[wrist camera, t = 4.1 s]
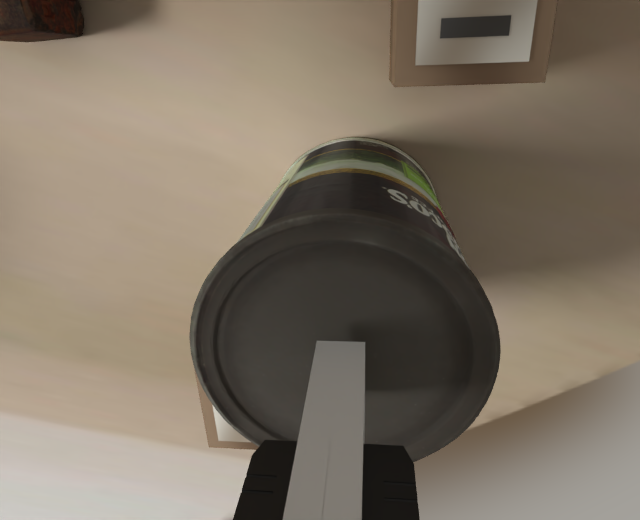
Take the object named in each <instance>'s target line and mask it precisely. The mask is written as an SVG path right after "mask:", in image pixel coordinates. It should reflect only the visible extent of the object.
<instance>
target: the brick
mask: <svg viewBox="0 0 640 520" xmlns="http://www.w3.org/2000/svg"><path fill="white" fill-rule="evenodd" d="M83 28H84V18H83V15H82V13H81V6H80V3H79V0H0V41H15V42H34V41H46V40H55V39H65V38H73V37H79V36H81V35H83Z"/></svg>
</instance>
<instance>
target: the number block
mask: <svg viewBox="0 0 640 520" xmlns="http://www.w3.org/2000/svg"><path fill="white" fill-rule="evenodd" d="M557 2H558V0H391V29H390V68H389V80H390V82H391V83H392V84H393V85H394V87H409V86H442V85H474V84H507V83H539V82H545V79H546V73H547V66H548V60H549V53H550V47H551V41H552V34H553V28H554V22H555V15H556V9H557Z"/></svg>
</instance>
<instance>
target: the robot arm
mask: <svg viewBox="0 0 640 520" xmlns="http://www.w3.org/2000/svg"><path fill="white" fill-rule="evenodd" d="M364 431H365V342H347V341H317V342H316V348H315V353H314V358H313V363H312V369H311V374H310V379H309V384H308V390H307V395H306V400H305V405H304V410H303V416H302V421H301V426H300V431H299V437H298V441H282V440H264V441H263V443H262V444H261V445H260V446H259V447H258V449H257V450H256V451H255V452H254V454H253V455H252V458H251V461H250V464H249V468H248V471H247V477H246V478H245V481H244V485H243V488H242V493H241V495H240V498H239V501H238V505H237V508H236V511H235V515H234V518H233V520H419V510H418V503H417V491H416V482H415V471H414V464H413V461H412V460H411V458H410V456H409V454H408V453H407V451H406V449H405V448H404V446H400V445H381V444H364Z"/></svg>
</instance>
